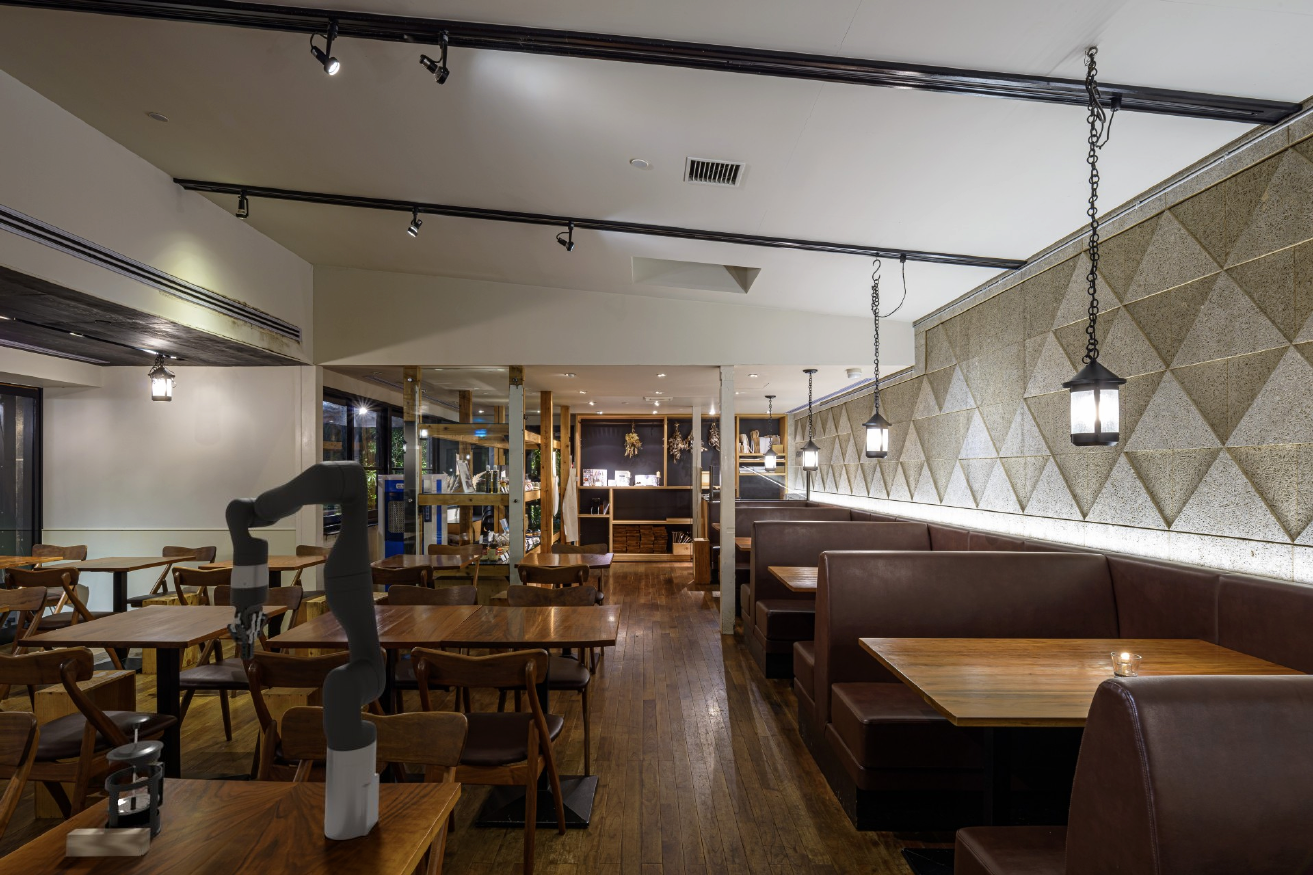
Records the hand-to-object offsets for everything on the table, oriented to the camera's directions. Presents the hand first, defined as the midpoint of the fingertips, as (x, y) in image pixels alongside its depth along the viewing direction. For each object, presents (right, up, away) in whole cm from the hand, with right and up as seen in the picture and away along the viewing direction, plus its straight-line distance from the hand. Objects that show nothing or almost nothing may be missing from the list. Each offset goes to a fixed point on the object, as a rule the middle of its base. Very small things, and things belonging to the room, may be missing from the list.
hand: (247, 658), depth 154 cm
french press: (-9, -28, -21) cm, 37 cm away
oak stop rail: (-9, -28, -28) cm, 40 cm away
